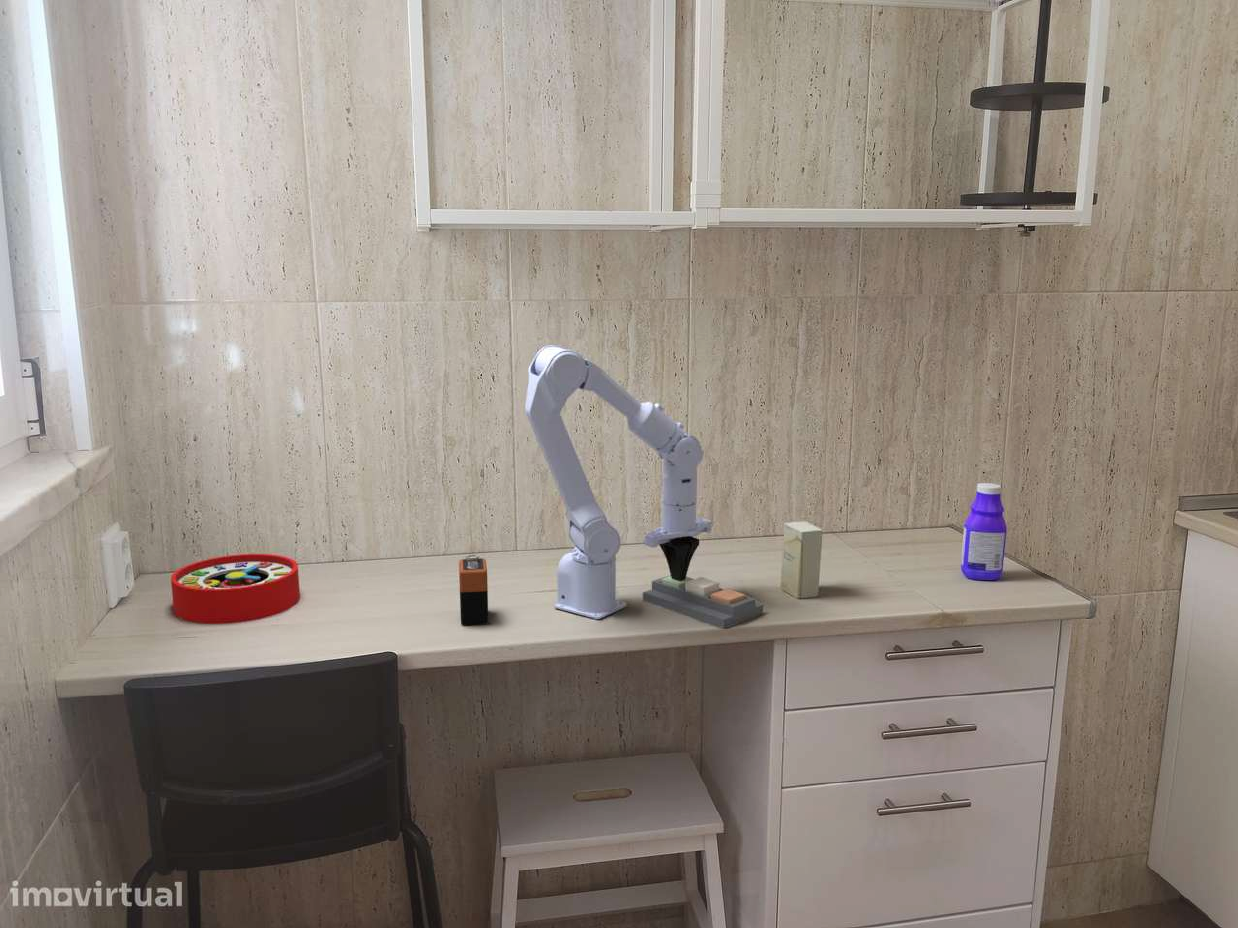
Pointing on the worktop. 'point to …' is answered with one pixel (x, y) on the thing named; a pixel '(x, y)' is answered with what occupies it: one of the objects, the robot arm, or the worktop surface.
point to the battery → (473, 590)
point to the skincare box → (801, 559)
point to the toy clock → (235, 588)
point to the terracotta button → (727, 596)
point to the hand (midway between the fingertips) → (678, 579)
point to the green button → (675, 582)
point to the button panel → (701, 605)
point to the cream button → (702, 586)
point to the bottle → (984, 535)
